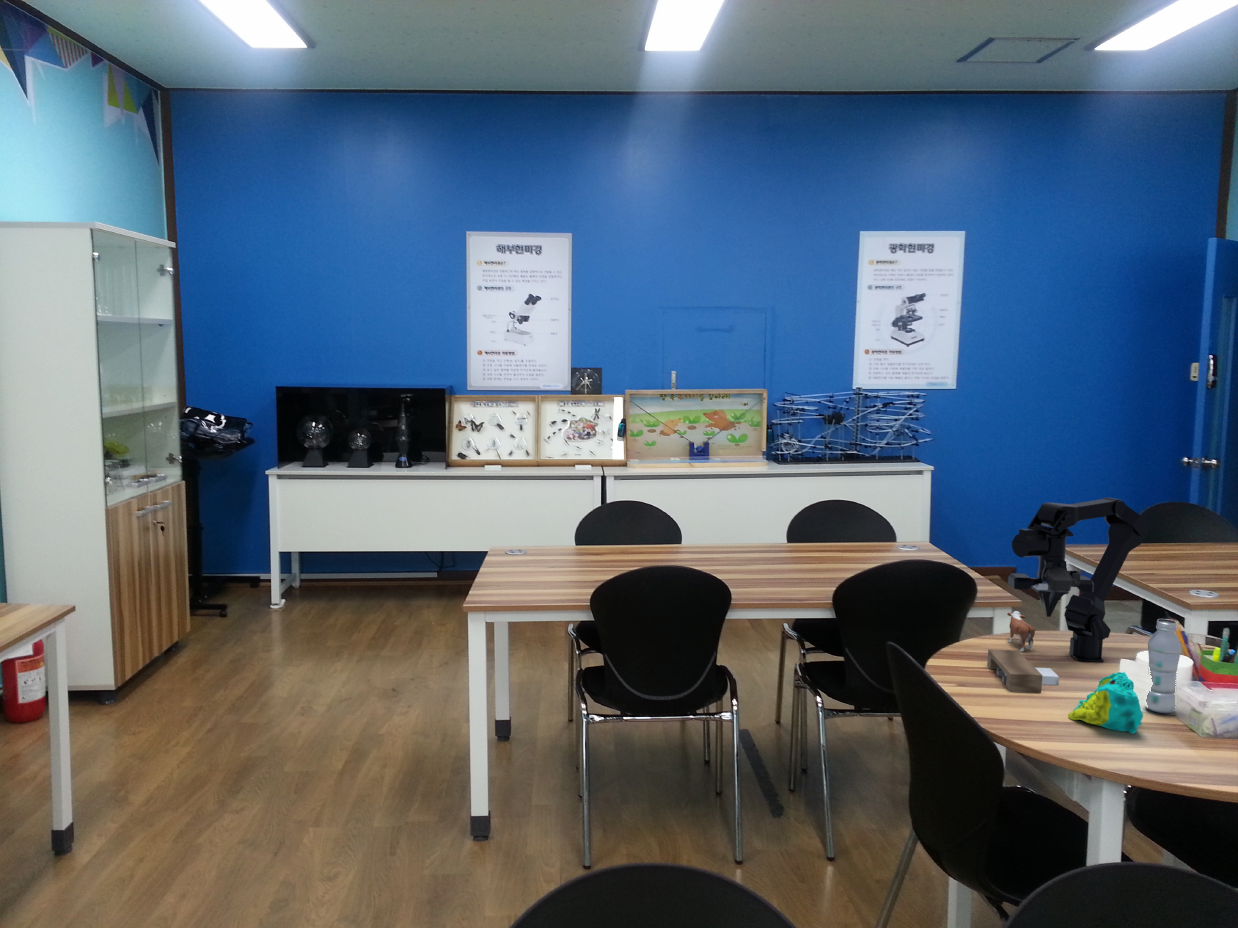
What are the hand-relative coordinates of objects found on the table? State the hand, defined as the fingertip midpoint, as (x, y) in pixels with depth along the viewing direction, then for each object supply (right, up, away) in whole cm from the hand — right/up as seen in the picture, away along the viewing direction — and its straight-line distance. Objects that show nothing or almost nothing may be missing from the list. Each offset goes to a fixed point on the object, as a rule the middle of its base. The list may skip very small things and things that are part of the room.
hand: (1048, 616), depth 235 cm
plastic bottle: (+11, -16, -30) cm, 35 cm away
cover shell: (-9, -13, -11) cm, 19 cm away
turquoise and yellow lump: (-4, -17, -37) cm, 41 cm away
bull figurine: (-1, -11, +15) cm, 19 cm away
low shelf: (-13, -13, -10) cm, 21 cm away
